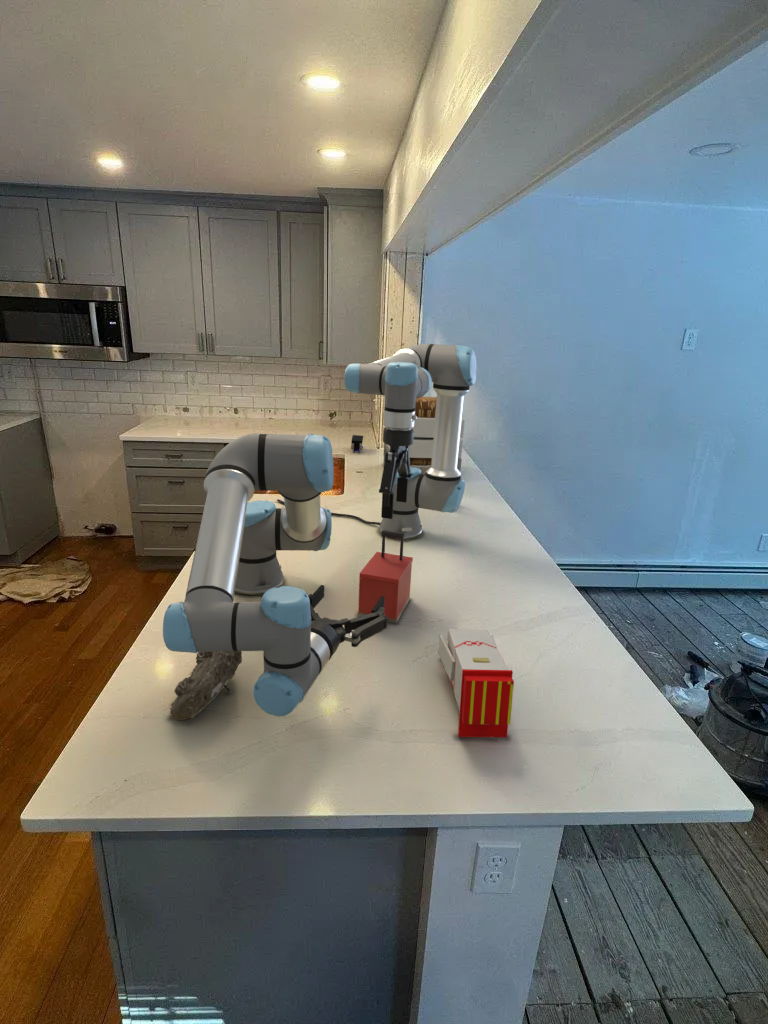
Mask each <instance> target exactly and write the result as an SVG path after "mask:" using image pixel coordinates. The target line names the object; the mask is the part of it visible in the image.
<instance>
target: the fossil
mask: <svg viewBox="0 0 768 1024" xmlns="http://www.w3.org/2000/svg"><path fill="white" fill-rule="evenodd" d="M242 652H243V651H212V652H197V653H196V657H195V660H196V661H195V663H196V665H194V668H193V669H192V671H191V673H190V676H189V677H188V676H187V677H184V678H183V679H182V680H181V681H180V682H178V684H176V686H175V688H174V691H173V692H174V694H175V695H176V696H177V697H176V698H174V701H172V702H171V703H170V708H169V712H170V718H172V719H175V720H177V721H183V720H188V719H194V718H195V717H196V716H198V714H199V713H200V712H201V711H203V710H205V708H206V707H207V706H208V705H209V704H210V703H211V702H212V701H214V699H216V698H217V696H218V695H219V692H221V691H222V690H223V689H225V690H226V691H227V692H229V693H230V692H232V690H231V689H230V687H229V686H228V685H227V683H228V681H230V680H232V679H233V678H234V676H236V675H235V674H236V672H237V670H238V668H239V666H240V665H241V664H242V662H243V656H242V654H243V653H242Z"/></svg>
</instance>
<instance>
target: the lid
mask: <svg viewBox="0 0 768 1024" xmlns="http://www.w3.org/2000/svg"><path fill="white" fill-rule="evenodd" d="M380 535H381V551H376V552H374V554H373V556H372V557H371V558H370V560H368V562H367V563H366V565H364V567H363V568H362V569H361V570H360V572H359V577H362V578H368V579H373V580H379V581H385V582H390V583H396V584H399V582H400V581H401V579H402V577H403V576H404V574H405V573H406V571H407V569H408V568H409V566H410V565H411V563H412V564H413V562H414V561H413V560H414V557H411V556H405V555H404V541H405V540H404V538H405V533H403V532H397V531H390V530H384V529H383V530H382V532H381V534H380ZM387 537H388V538H387ZM386 538H387V539H390V538H394V539H393V540H395V539H400V540H399V543H400V544H399V554H393V553H387V552H386Z"/></svg>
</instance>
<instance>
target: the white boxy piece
mask: <svg viewBox="0 0 768 1024" xmlns="http://www.w3.org/2000/svg"><path fill="white" fill-rule="evenodd" d="M436 401H437V396H422V397H419V398H416V404H415V414H414V416H417V419H416V420H414V427H413V428H412V429H413V430H414V438H413V444H412V445H409V458H410V467H417V466H418V467H431V462H432V450H433V438H434V426H435V413H436ZM464 429H465V419H464V418H462V420H461V431H460V441H459V451H458V461H457V469H458V470H459V472H460V473H461V472H462V461H463V460H462V453H463V442H464V441H463V440H462V439H463V438H464V431H465V430H464ZM388 451H390V446H389V445H387V444H385V443H384V442H383V465H384V463H385V453H386V452H388ZM461 474H462V473H461Z"/></svg>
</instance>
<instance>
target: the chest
mask: <svg viewBox="0 0 768 1024" xmlns="http://www.w3.org/2000/svg"><path fill="white" fill-rule="evenodd" d="M412 565H413V562H412V563H411V565H410V566H409V568H408V569H407V571H406V573H405V574H404V576H403V577H402V579H401V581H400V582H399V584H396V583H390V582H385V581H379V580H373V579H368V578H362V577H359V578H358V579H359V582H358V610H357V611H358V612H357V617H360V616H364V615H367V614H371V613H372V609H373V607H374V606H375V604H376V603H377V601H378V600H379V598H380V597H381V596H385V601H384V608H385V609H384V615H386V616H388V621H387V623H391V624H397V623H398V621H399V619H400V618H401V617H402V614H403V613H404V610H405V609H406V607H407V605H408V603H409V601H410V599H411V582H412V580H411V579H412V567H413V566H412Z"/></svg>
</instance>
